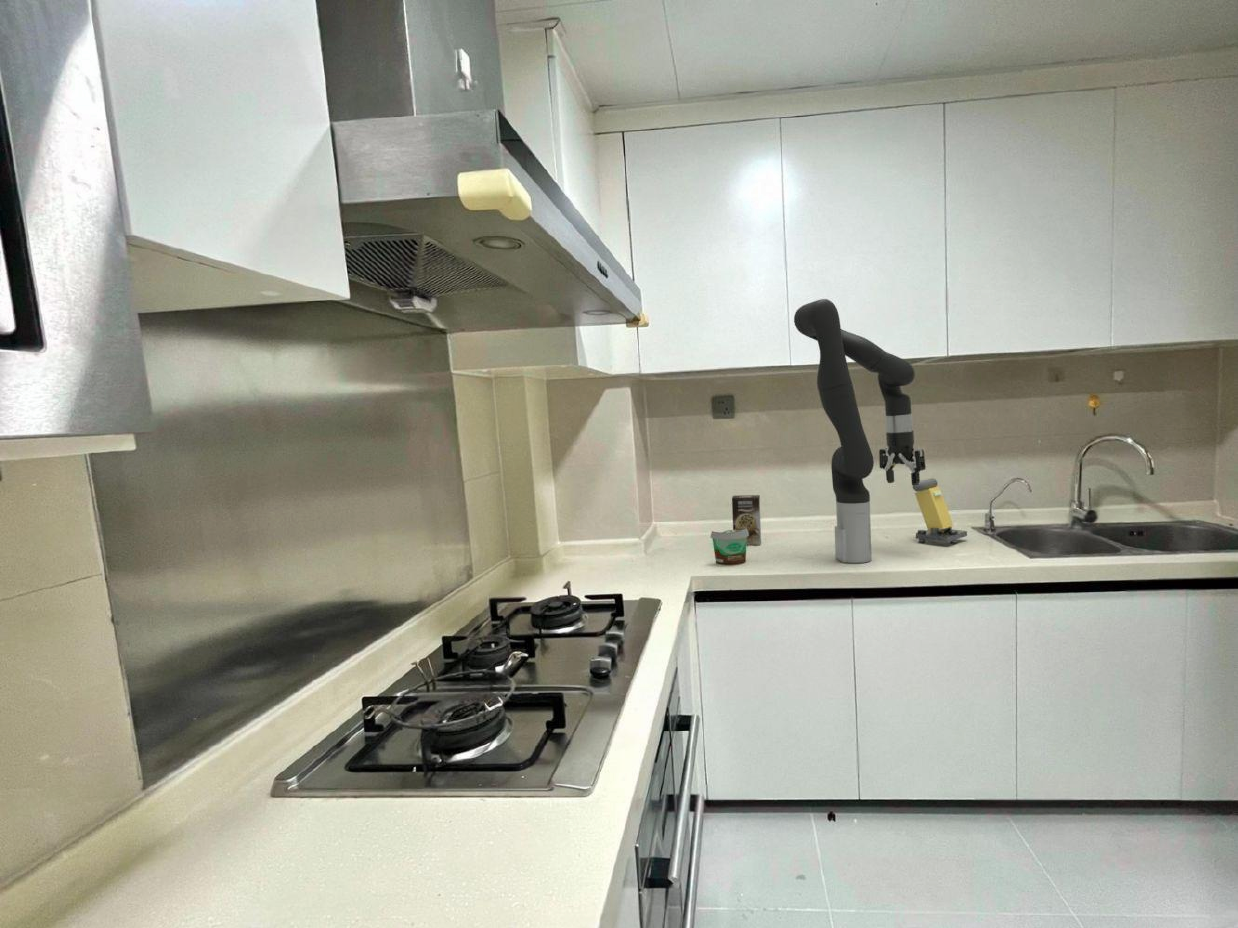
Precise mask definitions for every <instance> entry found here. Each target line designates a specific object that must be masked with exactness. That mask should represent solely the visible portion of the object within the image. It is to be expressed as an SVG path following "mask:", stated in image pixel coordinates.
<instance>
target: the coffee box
mask: <svg viewBox="0 0 1238 928" xmlns="http://www.w3.org/2000/svg"><path fill="white" fill-rule="evenodd" d="M760 499H761V497H760V495H758V494H756V495H755V494H754V495H753V494H752V495H751V494H750V495H744V494H743V495H732V496H731V507H732V508H731V509H732V512H731V513H732V530H741V529H744V526H745V527H747V530H748V533H749V536H748V537H747V543H746V546H761V545H762V532H761V506H760V505H761V502H760V501H761V500H760Z"/></svg>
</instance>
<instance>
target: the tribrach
mask: <svg viewBox="0 0 1238 928" xmlns="http://www.w3.org/2000/svg"><path fill="white" fill-rule="evenodd" d="M952 527H953V526H951V527H949V529H948V530H945V531H942V532H939V528H933V527H932V528H931V532H929V531H928V529H918V530H917V533H915V539H918V544H926V540H927V541H932V542H933V541H934V542H940V543H941V542H942V543H949V544H951V545H957V544H958V539H961V538H964V537H967V536H968V531H967V530H962V529H961V530H960V529H952Z"/></svg>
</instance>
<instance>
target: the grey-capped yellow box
mask: <svg viewBox="0 0 1238 928" xmlns="http://www.w3.org/2000/svg"><path fill="white" fill-rule="evenodd" d="M912 490H914V491H915V492H914V496H915V497H916V501H917V503H918V506H919V509H920V511H921V515H922V517H923V520H924V523H925V525H926V526H925V527H926V530H928V531H929V532H931V528H932V527H933V528H939V532H942V531H945V530H948V529H949V527H951V526H952V527H954V523H953V520H952V518H951V515H950V512H949V510H948V506H947V504H946V502H945V499H944V496H943V494H942V490H941V488H940V486H938V481H937V479H936V478H933V477H931V478H927V479H922V480H920V482H919V484H918V485H912Z"/></svg>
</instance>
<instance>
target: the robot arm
mask: <svg viewBox="0 0 1238 928" xmlns="http://www.w3.org/2000/svg"><path fill="white" fill-rule="evenodd" d="M840 320H841V319H840V315H839V312H838V309H837V307H836V305H835V304H834V302H833V301H831V300H829V299H827V298H820V299H816V300H815V301H811V302H808V303H806V304H803V305H802V306H800V307H799V308H798V309H797V310H796V312H795V313H794V315H793V323H794V326H795V328H796V329H797V331H798V332H799V333H800V334H802V335H804V336H806V337H808V338H810V339H813V340H814V341H816V342H817V344H818V348H819V364H818V370H817V376H816V377H817V378H816V388H817V391H818V395H819V399H820V403H821V405H822V408H823V410H824V412H825V414H826V416H827V417H828V419H829V420H830V422H831V423H832V425H833V427H834V429H835V430H836V432H837V435H838V438H839V442H840V447H838V448H836V449H835V451H834V452H833V454H832V457H831V480H832V481H831V482H832V490H833V493H834V495H835V507H836V508H835V509H836V510H835V511H836V512H835V513H836V514H835V515H836V525H835V526H834V548H835V549H834V553H835V555H834V556H835V559H836V560H838V561H839V562H841V563H849V564H850V563H851V564H862V563H868V562H871V561H872V529H871V495H870V491H869V490H868V489H867V488H866V486H865V484H864V481H863V479H865V478H867V477H869V476H870V475H871V473H872V471H873V469H874V464H875V462H874V456H873V453H872V449H871V447H870V444H869V442H868V439H867V436H866V433H865V431H864V427H863V425H862V424H863V423H862V420H861V415H860V414H861V413H860V411H859V407H858V404H857V400H856V399H857V398H856V394H855V389H854V386H853V382H852V377H851V375H850V370H849V366H848V361H847V358H849V359H851V360H852V361H853V362H855V363H856V364H858V365H859V366H861V367H862V368H863V369H865V370H867V371H869V372H871V373H877V382H878V386H879V390H880V392H881V395H882V398H883V400H884V407H885V408H884V409H885V410H884V411H885V437H886V446H887V447H888V448H887V447H885V448H880V449H879V451H878V452H879V453H878V455H879V456H878V457H879V458H878V459H879V468H880V469H883V470H884V471H885V478H886V482H887V483H888V484H892V483H895V471H894V468H895V467H896V466H897V465H899V464H900V465H905V466H906V467H907V468H908V469H909V470H910V471H911V473H910V475H911V477H910V479H911V486H913V485H918V484H919V482H920V481H921V480H920V479H921V478H920V477H921V476H920V472H922V471H924V470H926V459H925V451H924V449H917V450H916V449H914V444H915V436H914V435H915V434H914V420H913V416H912V403H911V397H910V395H908V394H906V393H904V392H903V391H902V389H901V387H903V386H909V385H910V384H911V383H912V382H913V381H914V379H915V376H916V373H915V369H914V366H913V365H912V364H911V363H909V361H907V360H906V359H904V358H901V357H899V356H897V355H895V354H893V353H890V352H887V351H885V350H884V349H882V348H881V347H880V346H878V345H877V344H875V343H874V342H873V341H872V340H870V339H867V338H865V337H863V336H861V335H857V334H855V333H852V332H850V331H847V330H844V329H843V328H841V321H840Z"/></svg>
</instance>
